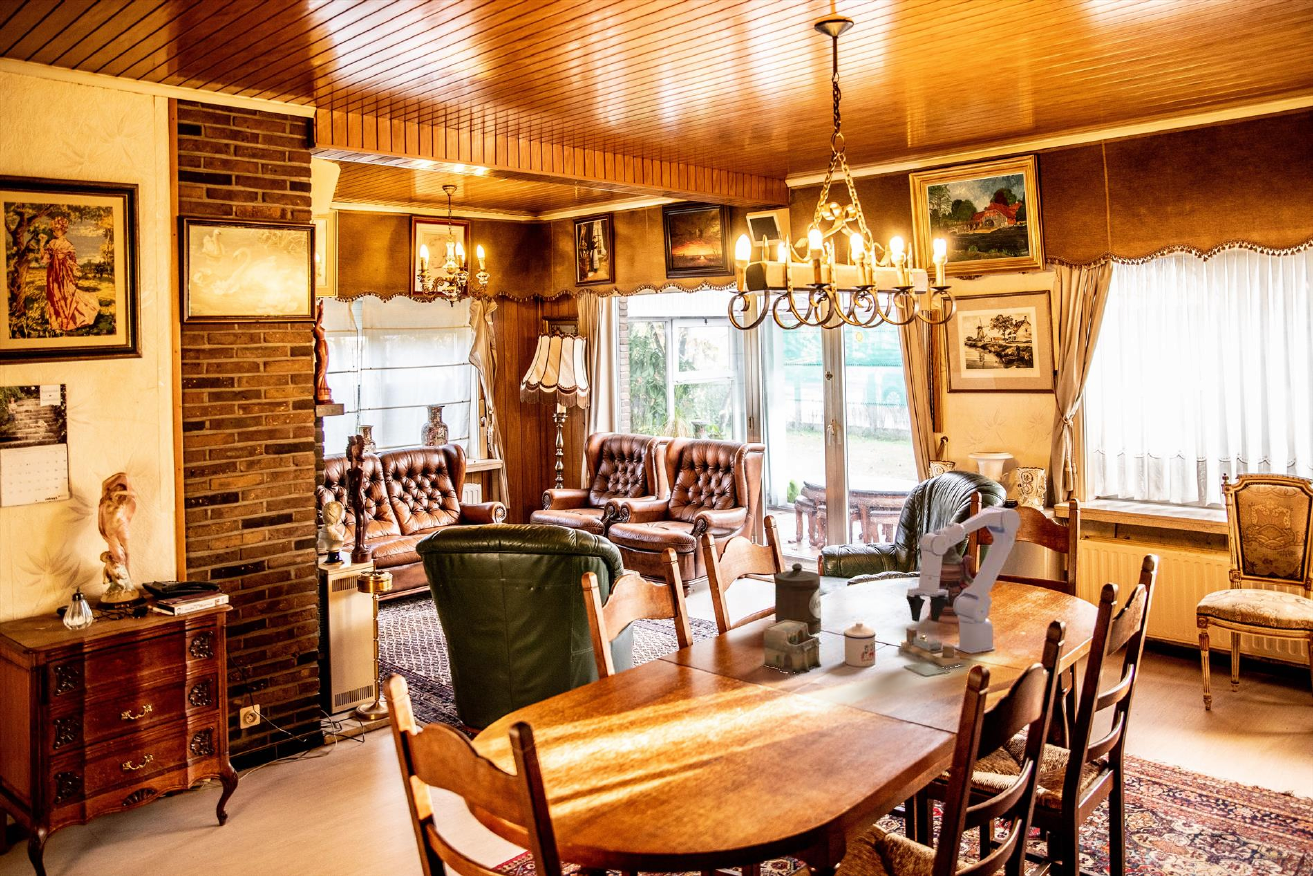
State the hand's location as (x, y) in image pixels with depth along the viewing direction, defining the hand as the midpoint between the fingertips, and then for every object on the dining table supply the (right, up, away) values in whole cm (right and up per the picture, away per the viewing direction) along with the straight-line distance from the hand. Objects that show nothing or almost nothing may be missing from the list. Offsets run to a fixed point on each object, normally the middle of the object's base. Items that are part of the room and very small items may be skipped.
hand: (924, 621), depth 288 cm
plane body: (+1, -11, 0) cm, 11 cm away
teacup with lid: (-18, -12, -1) cm, 22 cm away
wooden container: (-32, -10, +35) cm, 49 cm away
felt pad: (-3, -12, -11) cm, 16 cm away
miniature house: (-40, -13, -3) cm, 42 cm away
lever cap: (+1, -8, +1) cm, 8 cm away
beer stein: (+20, -7, +42) cm, 47 cm away
